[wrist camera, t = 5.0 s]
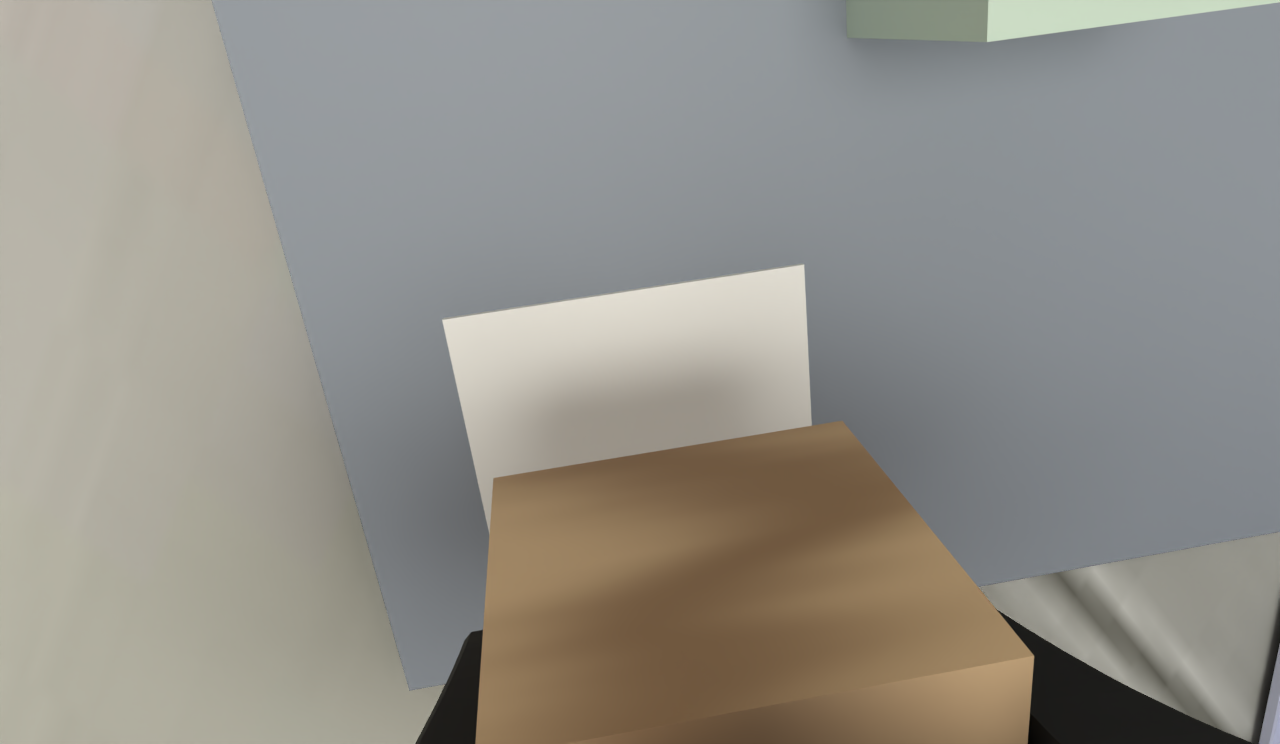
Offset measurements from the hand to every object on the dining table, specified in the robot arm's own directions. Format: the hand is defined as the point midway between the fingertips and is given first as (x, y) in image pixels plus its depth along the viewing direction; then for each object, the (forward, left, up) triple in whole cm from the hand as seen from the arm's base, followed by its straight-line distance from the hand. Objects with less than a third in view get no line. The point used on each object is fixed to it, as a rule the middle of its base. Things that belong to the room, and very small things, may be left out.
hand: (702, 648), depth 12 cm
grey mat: (-5, -4, -7) cm, 9 cm away
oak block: (0, 0, -1) cm, 1 cm away
